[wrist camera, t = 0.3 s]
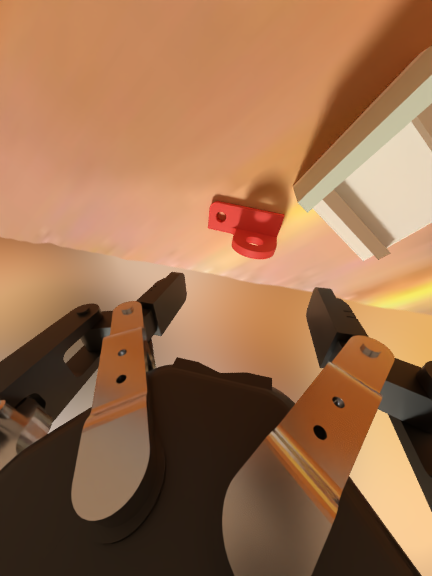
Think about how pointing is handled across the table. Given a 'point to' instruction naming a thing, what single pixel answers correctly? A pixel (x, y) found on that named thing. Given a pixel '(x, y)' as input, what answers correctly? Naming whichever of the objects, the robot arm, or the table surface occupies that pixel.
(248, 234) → the bracket
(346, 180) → the cleat board
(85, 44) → the table surface
